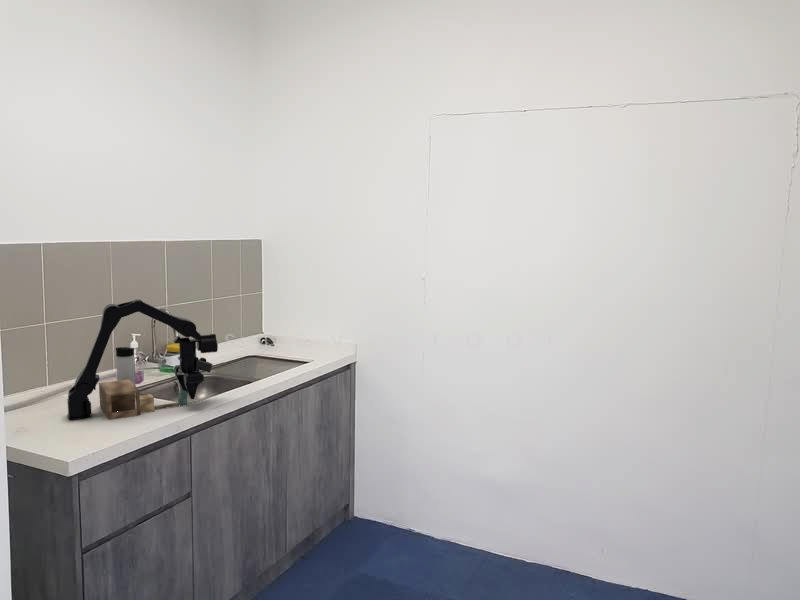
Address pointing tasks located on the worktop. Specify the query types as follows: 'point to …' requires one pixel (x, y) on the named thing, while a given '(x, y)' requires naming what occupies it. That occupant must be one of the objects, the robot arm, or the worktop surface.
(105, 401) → the brown wooden box
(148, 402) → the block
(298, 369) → the worktop surface
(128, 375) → the travel mug
